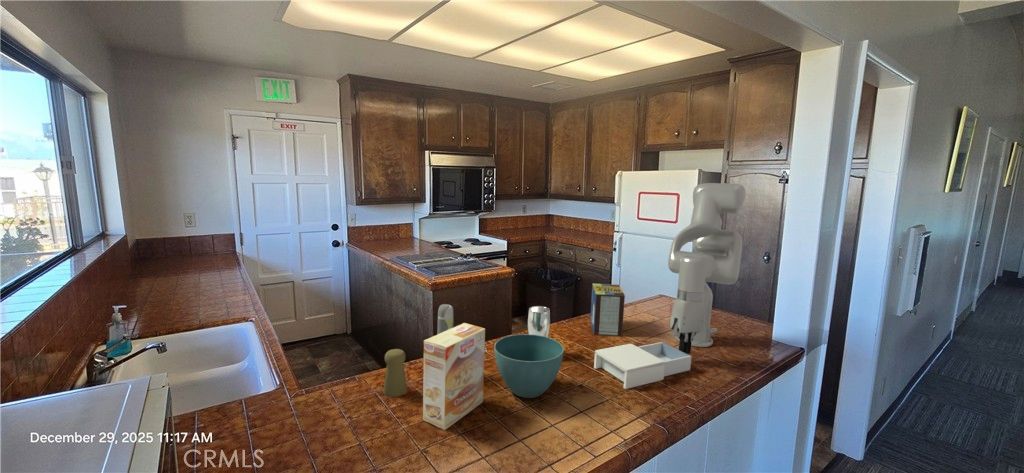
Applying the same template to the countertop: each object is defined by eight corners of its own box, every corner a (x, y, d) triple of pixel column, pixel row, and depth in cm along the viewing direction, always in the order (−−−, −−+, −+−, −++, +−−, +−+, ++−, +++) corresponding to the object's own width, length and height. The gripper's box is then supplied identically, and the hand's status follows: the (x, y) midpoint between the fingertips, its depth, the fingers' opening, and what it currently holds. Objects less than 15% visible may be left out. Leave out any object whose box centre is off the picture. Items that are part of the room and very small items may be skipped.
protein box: (616, 322, 170) (619, 284, 168) (622, 336, 155) (625, 295, 153) (589, 320, 171) (592, 282, 169) (593, 334, 156) (595, 293, 154)
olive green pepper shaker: (411, 387, 114) (411, 348, 112) (398, 398, 108) (398, 357, 106) (392, 383, 115) (391, 344, 114) (378, 394, 110) (377, 353, 108)
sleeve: (629, 360, 135) (631, 343, 134) (663, 379, 123) (665, 361, 122) (593, 367, 129) (595, 350, 128) (625, 389, 117) (626, 370, 116)
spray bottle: (457, 372, 123) (458, 305, 120) (443, 378, 119) (444, 309, 116) (446, 367, 126) (447, 301, 123) (432, 372, 123) (433, 304, 120)
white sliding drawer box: (660, 354, 140) (661, 341, 139) (690, 370, 129) (691, 356, 128) (601, 367, 129) (602, 353, 128) (628, 385, 118) (629, 370, 118)
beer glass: (523, 356, 135) (525, 310, 133) (530, 348, 142) (532, 304, 140) (544, 360, 133) (546, 314, 131) (551, 352, 139) (553, 307, 137)
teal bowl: (481, 398, 109) (482, 353, 107) (508, 369, 126) (509, 329, 124) (550, 415, 103) (552, 367, 101) (568, 382, 119) (571, 340, 118)
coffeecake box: (445, 431, 95) (446, 347, 92) (421, 420, 99) (421, 339, 96) (484, 402, 108) (486, 327, 105) (462, 393, 111) (463, 321, 109)
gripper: (696, 291, 140) (691, 345, 142) (663, 294, 133) (657, 351, 135) (717, 297, 133) (710, 353, 135) (682, 300, 126) (676, 360, 128)
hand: (684, 352), depth 135 cm, fingers closed
